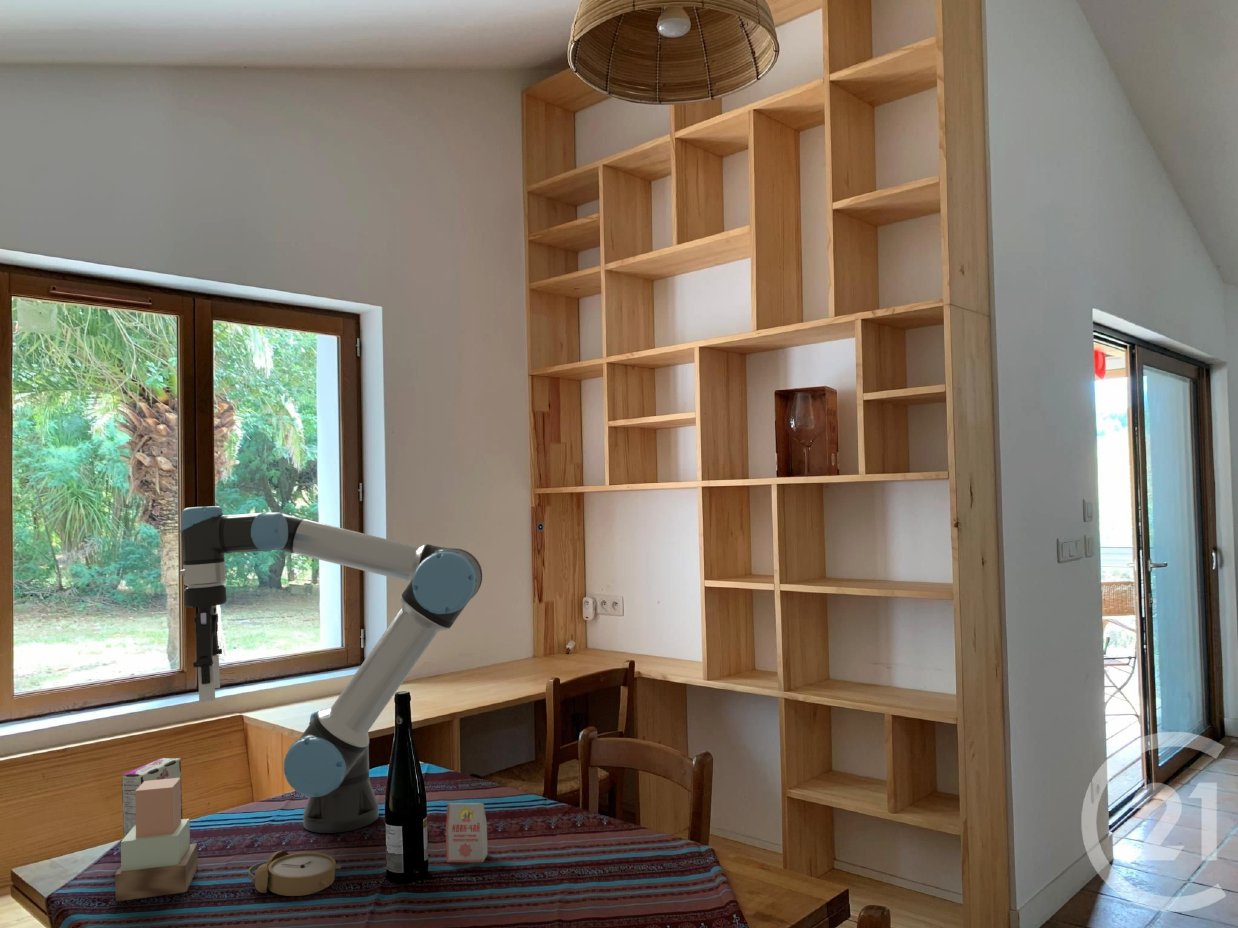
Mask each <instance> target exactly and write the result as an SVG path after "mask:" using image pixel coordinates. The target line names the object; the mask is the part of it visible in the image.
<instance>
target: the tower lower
mask: <svg viewBox="0 0 1238 928" xmlns="http://www.w3.org/2000/svg"><path fill="white" fill-rule="evenodd" d="M198 867H199V866H198V843H197V842H196V843H195V842H194V843H190V847H189V849H188V850H187V852H186V853H185V855H184V856H183V858H182V859H181V861H180V863H179V864H178V865H172V866H163V867H154V868H146V869H137V870H128V871H121V866H120V867H119V868H118V870H117V871H116V872H115V875H114V877H115V879H114V880H115V882H114V883H115V885H114V886H115V888H114V889H115V892H114V893H115V902H123V901H129V900H136V899H137V900H138V899H144V898H153V897H160V896H167V895H174V894H181V893H187V891H188V889H189V887H190V886H191V882H192V880H193V879H194V876H195V874H196V873H197V870H198Z"/></svg>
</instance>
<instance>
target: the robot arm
mask: <svg viewBox="0 0 1238 928" xmlns="http://www.w3.org/2000/svg"><path fill="white" fill-rule="evenodd" d="M180 518H181V520H180V535H181V536H180V537H181V550H182V551H181V552H182V553H181V554H182V565H183V566H182V567H183V569H180V570H179V574H180V575H181V576H183V584H184V586H187V587H186V588H185V589H184V590H183V596H184V597H183V599H184V606H185V607H186V608H189V609H190V608H198V613H196V615H195V617H194V626H195V635H196V660H195V662H193V668H194V669H195V668H197V680H198V681H197V683H198V700H199V701H198V702H199V703H202V702H210V701H216V689H220V688H221V680H220V679H221V677H220V674H221V673H220V657H219V655H222V654H223V648H220V646H219V638H218V631H219V630H218V629H219V623H218V622H219V613H216V611H217V608H216V606H221V605H224V604H226V603H227V586H225V585H226V584H223V583H224V582H226V581H227V577H226V573H227V572H226V561H225V554H232V553H233V554H234V553H253V552H255V553H256V552H257V553H258V552H264V553H265V552H272V551H280V552H281V551H282V552H285V553H290V554H296V555H301V556H303V557H308V558H312V559H316V560H320V561H324V562H328V563H331V564H336V565H340V566H343V567H347V568H352V569H356V570H360V571H364V572H368V573H372V574H377V575H381V576H384V577H389V578H393V579H397V580H401V581H405V582H409V584H408V585H407V586H406V587H405V589H404V590H403V592H401V593H402V594H401V595H400V601H401V608H400V610H399V611H398V613H397V614H396V615H395V616H394V618H393V619H392V621H391V622H390V623H389V626H388V627H387V628H386V630H385V631H384V632H383V634H382V635H381V637H380V638H379V639H378V641H377V642H376V644H375V645H374V646H373V648H372V650H371V651H370V652H369V654H368V655H367V657H366V658H365V659H364V661H363V662H361V663H362V664H361V665H360V666H359V667H358V669H357V671H356V672H355V673H354V675H353V676H352V677H351V679H349V682H348V683H347V685H346V686H345V687H344V689H343V690H342V691H341V693H340V694H339V696H338V697H337V699H336V700H335V701H334V703H333V705H331V707H329V708H322V709H319V710H317V711H314V712H312V713H311V714H310V718H309V722H308V726H307V727H306V729H305V731H303V733H302V735H300V738H299V739H297V740H295V741H294V742H293V743H292V744H291V745H290V746H289V748H288V750H287V752H286V754H285V755H284V756H285V757H284V761H283V773H284V777H285V780H286V782H287V783H288V784H289V786H290V787H291V788H292V789H293V790H294V791H295V792H297V793H298V794H300V795H303V796H305V797H308V798H307V801H306V804H305V806H304V811H303V817H302V820H303V823H302V825H303V828H304V829H305V830H307V831H309V832H313V833H318V834H319V833H320V834H333V833H334V834H335V833H342V832H343V833H344V832H350V831H355V830H358V829H361V828H363V827H366V826H369V825H371V824H373V823H375V822H376V821H377V820H378V819H379V815H380V814H379V813H380V812H379V808H380V807H379V803H378V799H377V798H376V797H377V796H376V795H375V792H374V789H373V786H372V784H371V781H370V755H369V754H370V752H369V751H370V750H369V749H370V748H369V746H370V745H369V744H370V737H369V730H370V729H371V728H372V726H373V725H374V724H375V722H376V721H377V720H378V718H379V716H380V715H381V714H382V712H383V711H384V709H386V707H387V705H388V703H390V701H391V700H392V698H393V696H394V695H395V694H396V693H397V691H398V690H399V688H400V687H401V685H402V684H403V683H404V681H405V679H406V678H407V676H408V675H409V674H410V672H412V669H413V668H414V667H415V665H416V663H417V662H418V661H419V660H420V658H421V657H422V655H423V654H424V653H425V651H426V650H427V648H428V647H429V645H430V644H431V643H432V641H433V640H434V638H435V637H436V636H437V634H438V632H441V631H447V630H450V629H451V628H452V626H453V625H454V623H455V622H456V620H457V619H458V617H459V616H460V615H461V614H462V613H463V611H464V609H465V607H466V606H467V605H468V603H469V602H470V601H471V600H472V599H473V598H474V597H475V595H477V593H478V592H479V590H480V588H481V586H482V583H483V570H482V566H481V564H480V562H479V561H478V559H477V558H476V556H474V555H473V554H472V553H471V552H469V551H467V550H465V549H461V548H454V547H453V548H452V547H442V546H438V545H437V546H436V545H432V544H427V543H424V544H423V545H421V546H417V545H412V544H409V543H404V542H400V541H395V540H391V539H387V538H384V537H379V536H377V535H372V534H366V533H362V532H360V531H354V530H352V529H351V530H350V529H346V528H343V527H338V526H336V525H335V526H334V525H330V524H327V523H326V524H325V523H322V522H318V521H314V520H309V519H304V518H301V517H297V516H294V515H292V514H290V513H287V512H283V511H276V512H274V511H273V512H270V511H266V512H265V511H264V512H257V513H254V512H253V513H244V514H230V515H229V514H228V515H227V514H224V512H223V508H222V507H221V506H219V505H216V506H215V505H214V506H213V505H212V506H195V507H194V506H193V507H186V508H184V509H183V510H182V512H181V516H180Z"/></svg>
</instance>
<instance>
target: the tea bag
mask: <svg viewBox="0 0 1238 928" xmlns="http://www.w3.org/2000/svg"><path fill="white" fill-rule="evenodd" d="M446 808H447V809H446V819H445V820H446V822H445V851H446V852H445V854H446V863H483V862H484V861H486V860H485V859H486V858H487V857H488V853H489V852H488V827H487V825H488V824H487V817H486V812H485V804H484V803H483V802H482V803H481V802H477V803H476V802H475V803H474V802H472V803H471V802H470V803H469V802H466V803H465V802H463V803H457V802H456V803H453V802H451V803H447V807H446Z"/></svg>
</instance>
